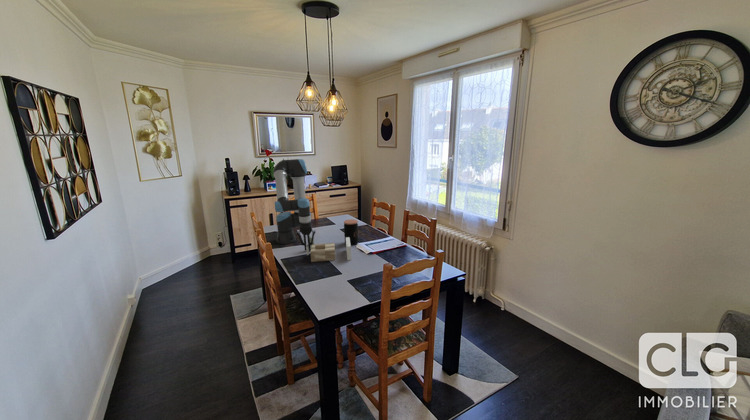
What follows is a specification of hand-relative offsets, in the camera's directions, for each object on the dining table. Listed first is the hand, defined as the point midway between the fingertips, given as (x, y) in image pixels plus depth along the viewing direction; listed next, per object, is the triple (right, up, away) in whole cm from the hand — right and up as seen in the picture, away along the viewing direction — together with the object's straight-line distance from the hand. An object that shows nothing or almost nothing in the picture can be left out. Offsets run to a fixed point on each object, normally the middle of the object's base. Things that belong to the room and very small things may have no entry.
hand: (308, 254), depth 201 cm
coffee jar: (+28, +4, +26) cm, 39 cm away
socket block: (+10, -2, +2) cm, 11 cm away
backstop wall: (+28, -1, +4) cm, 28 cm away
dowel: (0, +1, +14) cm, 15 cm away
